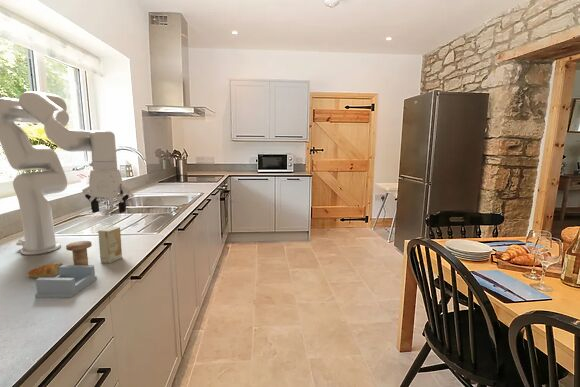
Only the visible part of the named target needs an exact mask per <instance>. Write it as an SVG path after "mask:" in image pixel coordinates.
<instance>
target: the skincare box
mask: <svg viewBox="0 0 580 387" xmlns="http://www.w3.org/2000/svg"><path fill="white" fill-rule="evenodd" d="M97 232H98V244H99V247H98V248H99V258H100V262H101V263H104V264H105V263H107V264H111V263H113V262H116V261H118V260H119V259H122V258H123V253H122V251H123V250H122V236H121V235H122V234H121V227H119V226H109V227H106V228H102V229H99V230H97Z"/></svg>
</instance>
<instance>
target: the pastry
mask: <svg viewBox="0 0 580 387" xmlns="http://www.w3.org/2000/svg"><path fill="white" fill-rule="evenodd" d="M61 265H64V264H63V263H62V262H58V263H47V264H45V265H44V264H43V265H41V266H40V265H39V266H38V267H35V268H33V269H30V270H29V271H27V273H26V274H27V276H28V277H29V278H31V279H38V278H55V277H56V276H58V275H60V273H59V267H60V266H61Z"/></svg>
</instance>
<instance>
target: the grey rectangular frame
mask: <svg viewBox="0 0 580 387" xmlns="http://www.w3.org/2000/svg"><path fill="white" fill-rule="evenodd" d="M59 273H60V275H58V276H56V277H52V278H35V285H36V286H35V288H36V293H35V294H34V296H35V298H38V299H39V298H47V299H48V298H54V299H55V298H56V299H58V298H59V299H60V298H61V299H64V298H67V299H69V298H70V299H71V298H72V297H74V296H76V294H78V293H79V292H81V291H82V290H84V289H85V288H87V287H88V286H90V284H92V283H94V282H95V281H96V280H97V279H98V278H97V277H98V276H97V275H95V265H92V264H90V265H89V264H88V265H74V264H71V265H70V264H63V265H61V266H60V267H59Z"/></svg>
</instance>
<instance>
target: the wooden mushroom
mask: <svg viewBox="0 0 580 387" xmlns="http://www.w3.org/2000/svg"><path fill="white" fill-rule="evenodd" d="M92 245H93V244H92V241H90V240H80V241H78V240H77V241H73V242H70V243H68V244H66V246H65V248H66V251H68V252H69V251H72V260H73V262H72V263H73V265H89V257H88V249H89V248H91V247H92Z"/></svg>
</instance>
